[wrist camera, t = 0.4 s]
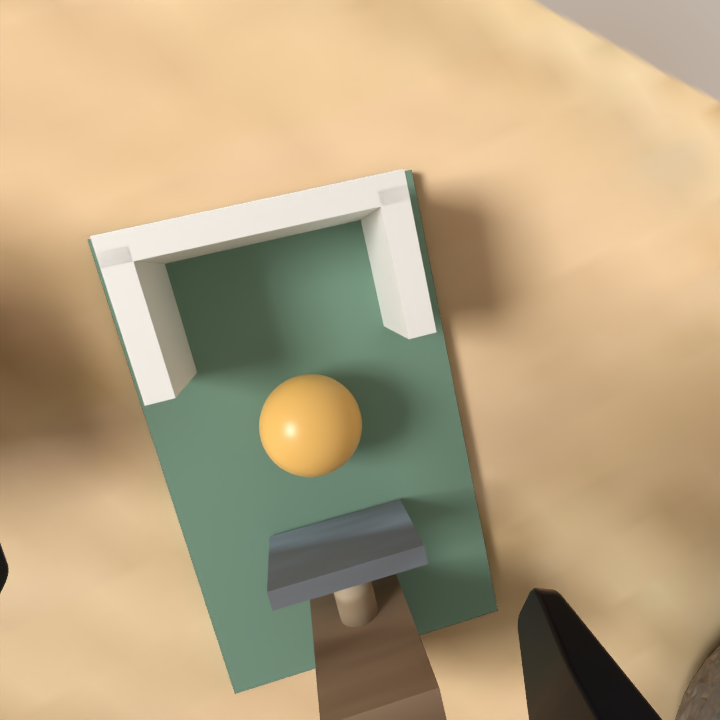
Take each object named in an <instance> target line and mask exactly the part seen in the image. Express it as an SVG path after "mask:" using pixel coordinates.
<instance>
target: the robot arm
mask: <svg viewBox="0 0 720 720" xmlns="http://www.w3.org/2000/svg"><path fill="white" fill-rule="evenodd" d="M7 576H8V564H7V561H6V558H5V555H4V552H3V549H2V547H1V544H0V593H1V591H2V589H3V587H4V584H5V582H6V580H7ZM518 633H519V642H520V650H521V658H522V666H523V674H524V683H525V691H526V699H527V707H528V714H529V720H662V719H661V718H660V716H659V715H658V714H657V713H656V711H655V710H654V709H653V708H652V706H651V705H650V704H649V703H648V702H647V700H646V699H645V698H644V697H643V695H642V694H641V693H640V692H639V690H638V689H637V688H636V687H635V685H634V684H633V683H632V682H631V681H630V679H629V678H628V677H627V676H626V674H625V673H624V672H623V671H622V669H621V668H620V667H619V666H618V664H617V663H616V662H615V661H614V660H613V658H612V657H611V656H610V655H609V653H608V652H607V651H606V650H605V648H604V647H603V646H602V645H601V643H600V642H599V641H598V640H597V639H596V637H595V636H594V635H593V634H592V632H591V631H590V630H589V629H588V627H587V626H586V625H585V624H584V622H583V621H582V620H581V619H580V618H579V616H578V615H577V614H576V613H575V611H574V610H573V609H572V608H571V606H570V605H569V604H568V603H567V601H566V600H565V599H564V598H563V597H562V595H561V594H560V593H558V592H557V591H555V590H552V589H542V588H534V589H533V590H531V592H530V593H529V596H528V598H527V600H526V602H525V604H524V606H523V608H522V610H521V612H520V614H519V618H518Z"/></svg>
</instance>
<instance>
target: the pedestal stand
mask: <svg viewBox="0 0 720 720" xmlns="http://www.w3.org/2000/svg"><path fill="white" fill-rule="evenodd" d="M427 564H428V560H427V556H426V551H425V547H424V544H423V542H422V540H421V538H420V536H419V534H418V533H417V531H416V529H415V527H414V525H413V523H412V521H411V519H410V517H409V515H408V513H407V512H406V510H405V508H404V506H403V504H402V502H401V500H396V501H393V502H389V503H386V504H382V505H379V506H375V507H372V508H368V509H365V510H361V511H358V512H354V513H351V514H347V515H344V516H340V517H337V518H333V519H330V520H326V521H323V522H319V523H316V524H312V525H309V526H305V527H302V528H298V529H295V530H291V531H288V532H284V533H281V534H277V535H274V536H270V537H269V558H268V580H267V594H268V597H269V601H270V604H271V607H272V611H274V610H278V609H281V608H284V607H288V606H291V605H294V604H297V603H301V602H304V601H307V600H310V609H311V620H312V632H313V643H314V655H315V666H316V678H317V689H318V701H319V713H320V720H446V715H445V711H444V707H443V702H442V698H441V694H440V689H439V686H438V683H437V681H436V678H435V675H434V673H433V670H432V667H431V665H430V662H429V660H428V657H427V654H426V652H425V649H424V646H423V644H422V641H421V638H420V636H419V633H418V631H417V628H416V625H415V623H414V620H413V617H412V615H411V612H410V610H409V607H408V604H407V602H406V599H405V596H404V594H403V591H402V589H401V586H400V583H399V581H398V578H397V575H396V574H397V573H400V572H403V571H407V570H410V569H413V568H417V567H420V566H423V565H427Z"/></svg>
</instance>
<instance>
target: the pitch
mask: <svg viewBox="0 0 720 720" xmlns="http://www.w3.org/2000/svg"><path fill="white" fill-rule="evenodd" d="M405 176H406V181H407V186H408V191H409V196H410V201H411V206H412V211H413V216H414V221H415V226H416V231H417V236H418V242H419V247H420V252H421V257H422V262H423V267H424V272H425V277H426V282H427V287H428V292H429V297H430V302H431V307H432V312H433V317H434V322H435V327H436V333H432V334H428V335H424V336H420V337H416V338H412V339H407V338H405V337H403V336H402V335H400V334H398V333H396V332H394V331H392V330H390V329H388V328H386V327H384V324H383V320H382V315H381V311H380V306H379V301H378V297H377V292H376V288H375V283H374V278H373V274H372V269H371V265H370V260H369V256H368V251H367V246H366V242H365V237H364V233H363V228H362V224H361V220H358V221H354V222H349V223H345V224H341V225H336V226H332V227H327V228H323V229H318V230H314V231H309V232H305V233H300V234H296V235H291V236H287V237H282V238H278V239H273V240H269V241H264V242H260V243H256V244H251V245H247V246H242V247H238V248H233V249H229V250H224V251H220V252H215V253H211V254H206V255H202V256H197V257H193V258H188V259H184V260H180V261H175V262H171V263H166V264H165V266H166V270H167V273H168V276H169V280H170V283H171V286H172V290H173V293H174V297H175V300H176V303H177V307H178V310H179V313H180V317H181V320H182V323H183V327H184V330H185V333H186V337H187V340H188V344H189V347H190V350H191V354H192V357H193V360H194V364H195V367H196V370H197V373H196V374H195V376H194V377H193V378H192V379H191V380H190V382H189V383H188V384H187V385H186V386H185V388H184V389H183V390H182V391H181V392H180V393H179V395H178V396H177V397H176V398H174V399H170V400H166V401H162V402H158V403H154V404H150V405H146V406H145V405H144V402H143V399H142V396H141V393H140V390H139V387H138V384H137V380H136V377H135V374H134V371H133V368H132V365H131V362H130V359H129V356H128V353H127V349H126V346H125V343H124V340H123V337H122V334H121V331H120V328H119V325H118V322H117V319H116V315H115V312H114V309H113V306H112V303H111V300H110V297H109V294H108V291H107V288H106V285H105V281H104V278H103V275H102V272H101V269H100V266H99V263H98V260H97V257H96V254H95V251H94V247H93V244H92V241H91V239H88V243H89V246H90V249H91V252H92V255H93V258H94V261H95V264H96V267H97V270H98V273H99V276H100V280H101V283H102V286H103V289H104V292H105V295H106V298H107V301H108V304H109V307H110V310H111V313H112V317H113V320H114V323H115V326H116V329H117V332H118V335H119V338H120V341H121V344H122V347H123V350H124V353H125V357H126V360H127V363H128V366H129V369H130V372H131V375H132V378H133V381H134V384H135V387H136V390H137V394H138V397H139V400H140V403H141V406H142V409H143V412H144V415H145V418H146V421H147V424H148V427H149V430H150V434H151V437H152V440H153V443H154V446H155V449H156V452H157V455H158V458H159V461H160V464H161V467H162V471H163V474H164V477H165V480H166V483H167V486H168V489H169V492H170V495H171V498H172V501H173V504H174V507H175V511H176V514H177V517H178V520H179V523H180V526H181V529H182V532H183V535H184V538H185V541H186V544H187V548H188V551H189V554H190V557H191V560H192V563H193V566H194V569H195V572H196V575H197V578H198V581H199V584H200V588H201V591H202V594H203V597H204V600H205V603H206V606H207V609H208V612H209V615H210V618H211V621H212V625H213V628H214V631H215V634H216V637H217V640H218V643H219V646H220V649H221V652H222V655H223V658H224V661H225V665H226V668H227V671H228V674H229V677H230V680H231V683H232V686H233V689H234V692H235V694H236V693H239V692H242V691H245V690H249V689H252V688H255V687H258V686H261V685H264V684H268V683H271V682H274V681H277V680H280V679H283V678H286V677H290V676H293V675H296V674H299V673H302V672H305V671H309V670H312V669H315V668H316V666H315V655H314V643H313V632H312V620H311V609H310V600H307V601H304V602H301V603H297V604H294V605H291V606H288V607H284V608H281V609H278V610H274V611H272V607H271V604H270V601H269V597H268V594H267V580H268V558H269V537H270V536H274V535H277V534H281V533H284V532H288V531H291V530H295V529H298V528H302V527H305V526H309V525H312V524H316V523H319V522H323V521H326V520H330V519H333V518H337V517H340V516H344V515H347V514H351V513H354V512H358V511H361V510H365V509H368V508H372V507H375V506H379V505H382V504H386V503H389V502H393V501H396V500H401V502H402V504H403V506H404V508H405V510H406V512H407V513H408V515H409V517H410V519H411V521H412V523H413V525H414V527H415V529H416V531H417V533H418V534H419V536H420V538H421V540H422V542H423V544H424V547H425V551H426V556H427V560H428V564H427V565H423V566H420V567H417V568H413V569H410V570H407V571H403V572H400V573H397V574H396V575H397V578H398V581H399V583H400V586H401V589H402V591H403V594H404V596H405V599H406V602H407V604H408V607H409V610H410V612H411V615H412V617H413V620H414V623H415V625H416V628H417V631H418V633H419V635H422V634H425V633H429V632H432V631H435V630H438V629H441V628H444V627H447V626H451V625H454V624H457V623H460V622H463V621H466V620H470V619H473V618H476V617H479V616H482V615H485V614H488V613H492V612H495V611H498V610H497V605H496V600H495V595H494V590H493V584H492V579H491V574H490V569H489V564H488V559H487V554H486V549H485V543H484V538H483V533H482V528H481V523H480V518H479V513H478V508H477V503H476V497H475V492H474V487H473V482H472V477H471V472H470V467H469V462H468V456H467V451H466V446H465V441H464V436H463V431H462V426H461V421H460V416H459V410H458V405H457V400H456V395H455V390H454V385H453V380H452V375H451V369H450V364H449V359H448V354H447V349H446V344H445V339H444V334H443V329H442V323H441V318H440V313H439V308H438V303H437V298H436V293H435V288H434V282H433V277H432V272H431V267H430V262H429V257H428V252H427V247H426V242H425V236H424V231H423V226H422V221H421V216H420V211H419V206H418V201H417V195H416V190H415V185H414V180H413V175H412V170H408V171H405ZM304 374H319V375H324V376H327V377H330V378H332V379H334V380H336V381H338V382H339V383H341V384H342V385H343V386H345V387H346V388H347V389H348V390H349V391H350V393H351V394H352V395H353V397H354V398H355V400H356V402H357V404H358V406H359V409H360V413H361V418H362V432H361V437H360V441H359V444H358V446H357V448H356V450H355V452H354V454H353V455H352V456H351V458H350V459H349V460H348V461H347V462H346V463H345V464H344V465H343V466H342V467H340V468H339V469H337V470H336V471H334V472H332V473H329V474H327V475H324V476H319V477H301V476H297V475H293V474H291V473H289V472H286V471H285V470H283V469H281V468H280V467H279V466H277V465H276V464H275V463H274V462H273V461H272V460H271V459H270V457H269V456H268V454H267V453H266V451H265V449H264V447H263V445H262V442H261V438H260V432H259V420H260V414H261V411H262V408H263V405H264V403H265V401H266V399H267V398H268V396H269V395H270V394H271V392H272V391H273V390H274V389H275V388H276V387H277V386H279V385H280V384H281V383H283V382H284V381H286V380H288V379H290V378H293V377H296V376H299V375H304Z"/></svg>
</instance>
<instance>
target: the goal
mask: <svg viewBox="0 0 720 720" xmlns="http://www.w3.org/2000/svg"><path fill="white" fill-rule="evenodd" d="M358 220H361V224H362V228H363V233H364V237H365V242H366V246H367V251H368V256H369V260H370V265H371V269H372V274H373V278H374V283H375V288H376V292H377V297H378V301H379V306H380V311H381V315H382V320H383V324H384V327H386V328H388V329H390V330H392V331H394V332H396V333H398V334H400V335H402V336H403V337H405V338H407V339H412V338H416V337H420V336H424V335H428V334H432V333H436V327H435V322H434V317H433V312H432V307H431V302H430V297H429V292H428V287H427V282H426V277H425V272H424V267H423V262H422V257H421V252H420V247H419V242H418V236H417V231H416V226H415V221H414V216H413V211H412V206H411V201H410V196H409V191H408V186H407V181H406V176H405V171H404V169H400V170H396V171H391V172H386V173H382V174H377V175H372V176H368V177H363V178H358V179H354V180H349V181H344V182H340V183H335V184H330V185H326V186H321V187H316V188H312V189H307V190H302V191H298V192H293V193H288V194H284V195H279V196H274V197H270V198H265V199H260V200H256V201H251V202H246V203H242V204H237V205H232V206H228V207H223V208H218V209H214V210H209V211H204V212H200V213H195V214H190V215H186V216H181V217H177V218H172V219H167V220H163V221H158V222H153V223H149V224H144V225H139V226H135V227H130V228H125V229H121V230H116V231H111V232H107V233H102V234H97V235H93V236H90V238H91V241H92V244H93V247H94V251H95V254H96V257H97V260H98V263H99V266H100V269H101V272H102V275H103V278H104V281H105V285H106V288H107V291H108V294H109V297H110V300H111V303H112V306H113V309H114V312H115V315H116V319H117V322H118V325H119V328H120V331H121V334H122V337H123V340H124V343H125V346H126V349H127V353H128V356H129V359H130V362H131V365H132V368H133V371H134V374H135V377H136V380H137V384H138V387H139V390H140V393H141V396H142V399H143V402H144V405H145V406H146V405H150V404H154V403H158V402H162V401H166V400H170V399H174V398H176V397H177V396H178V395H179V393H180V392H181V391H182V390H183V389H184V388H185V386H186V385H187V384H188V383H189V382H190V380H191V379H192V378H193V377H194V376H195V374H196V373H197V370H196V367H195V364H194V360H193V357H192V354H191V350H190V347H189V344H188V340H187V337H186V333H185V330H184V327H183V323H182V320H181V317H180V313H179V310H178V307H177V303H176V300H175V297H174V293H173V290H172V286H171V283H170V280H169V276H168V273H167V270H166V266H165V264H166V263H171V262H175V261H180V260H184V259H188V258H193V257H197V256H202V255H206V254H211V253H215V252H220V251H224V250H229V249H233V248H238V247H242V246H247V245H251V244H256V243H260V242H264V241H269V240H273V239H278V238H282V237H287V236H291V235H296V234H300V233H305V232H309V231H314V230H318V229H323V228H327V227H332V226H336V225H341V224H345V223H349V222H354V221H358Z"/></svg>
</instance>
